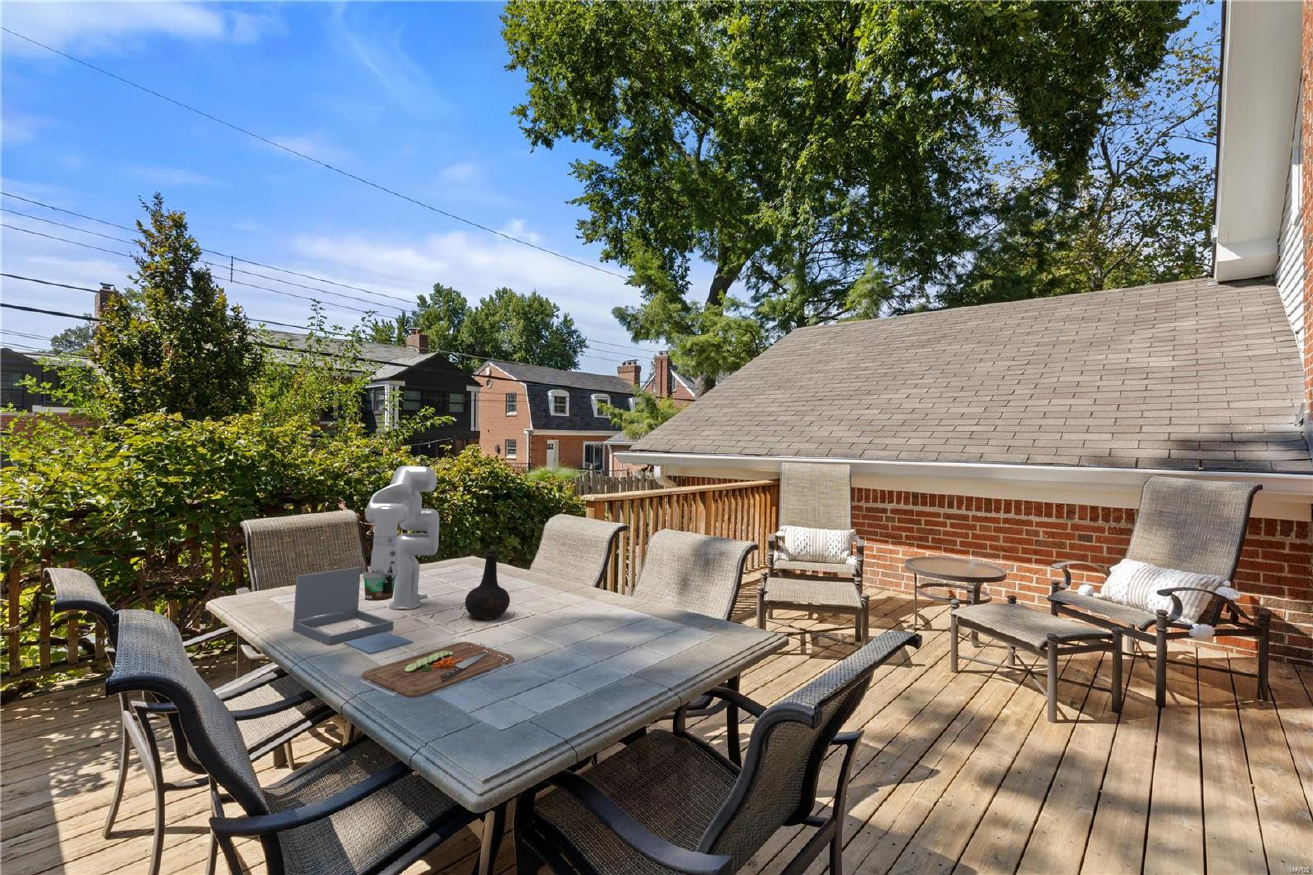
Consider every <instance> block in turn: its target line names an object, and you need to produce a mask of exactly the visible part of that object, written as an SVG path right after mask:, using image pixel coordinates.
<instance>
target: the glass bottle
mask: <svg viewBox="0 0 1313 875" xmlns="http://www.w3.org/2000/svg"><path fill="white" fill-rule="evenodd" d="M484 555H485V556H486V557H485V564H484V570H483V575H482V579H481V581H480V583H479V585H478V586H477V587H475V588H472V589H471V590H470V591H469V592H468V594H467V595H466V597H465V601H464V605H465V609H466V611H467V613H468V614H469V615H470V616H472V617H473V618H476V619H479V618H495V619H497V618H496V617H498V618H500V617H501V616H502V615H503V614H504V613H505V612H506V611H507V610H508V608H509V607H510V603H511V599H510V595H509V592H508V591H507V590H506V589H505V588H503V587H501V586H500V585H499V584H498V575H497V573H498V570H497V569H498V568H497V566H498V564H497V556H500V553H498V550H497V549H494V548H492V549H486V552H485V553H484Z"/></svg>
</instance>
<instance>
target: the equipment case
mask: <svg viewBox="0 0 1313 875" xmlns="http://www.w3.org/2000/svg"><path fill="white" fill-rule="evenodd" d="M361 568H362V567H361V566H356V567H350V568H344V569H343V568H342V569H335V570H329V571H320V572H314V573H313V572H312V573H307V574H301V575H296V578H295V591H294V592H295V593H294V607H293V621H292V622H293V624H292V631H293V630H294V631H293V632H296V633H298V632H299V633H298V634H300V633H301V635H303V636H306V637H307V638H310V639H313V640H315V641H318V642H320V641H321V642H320V643H323V644H325V645H327V646H332V645H336V644H340V643H344V642H348V641H352V640H356V639H360V638H364V637H368V636H372V635H376V634H380V633H384V632H389V631H392V630H394V625H395V624H394V621H392V620H390V619H387V618H383V617H381V616H378V615H374V614H372V613H369V612H366V611H363V610H360V609H359V600H360V585H361V572H362V569H361ZM354 618H356V619H357V618H358V620H361V621H363V622H366V623H370V624H372V625H371V626H365V627H362V628H357V629H353V630H348V631H344V632H340V633H335V634H332V635H331V634H329V633H326V632H323V631H322V630H321V631H320V630H319V629H316V628H318V627H322V626H327V625H332V623H333V624H335V623H336V624H337V623H340V622H341V623H342V622H347V621H351V620H354ZM350 619H351V620H350ZM312 627H314V628H312Z"/></svg>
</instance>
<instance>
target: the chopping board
mask: <svg viewBox="0 0 1313 875" xmlns="http://www.w3.org/2000/svg"><path fill="white" fill-rule="evenodd" d="M479 644H480V645H479ZM479 644H476V643H474V642H470V641H460V642H456V643H453V644H449V645H445V646H443V647H440V648H436V649H432V650H430V651H426V652H423V653H419V654H417V655H414V656H413V655H412V656H409V657H406V658H403V659H400V660H397V661H396V660H395V661H393V662H390V663H386V664H384V665H383V664H382V665H379V666H376V667H373V668H370V669H367V670H365V671H363V672H362V674H361V675H362V676H361V678H363V679H364V680H363V679H362V680H360V683H361V684H364V686H365V685H366V686H368V687H371V688H372V689H375V690H376V691H379V692H381V693H384V694H386V695H389V697H390V696H391V697H392V698H395V697H396V696H397V694H399V695H401V696H403V697H407V698H418V697H422V696H425V695H428V694H430V693H433V692H436V691H439V690H441V689H444V688H446V687H449V686H451V685H454V684H459V683H460V682H463V681H465V680H468V679H471V678H473V677H476V676H479V675H482V674H484V673H486V672H490V671H492V670H491V669H493V668H495V669H498V668H500V667H499V666H501V665H503V664H506V665H508V664H507V663H509V662H511V661H512V660H513V659H515V658H514V656H513V653H512V652H509V651H506V652H507V654H505V653H502V652H499V651H496V650H501V649H500V648H497V647H493V646H491V647H492V648H494V649H496V650H493V649H490V648H487V647H484V646H489V647H490V645H488V644H485V643H481V642H480V643H479ZM481 645H483V646H481ZM471 646H472V647H471ZM483 650H486V651H488V652H486V651H483ZM490 652H491V653H490ZM508 653H510V654H512V655H509V654H508ZM498 655H501V656H503V657H501V656H498ZM504 657H506V658H508V660H505V659H506V658H504ZM503 660H505V661H503ZM502 661H503V662H502ZM511 663H512V662H511ZM509 664H510V663H509ZM497 667H498V668H497ZM501 667H502V666H501ZM489 670H490V671H489ZM493 670H494V669H493ZM365 680H366V681H365ZM374 684H375V685H374ZM377 685H379V686H381V687H383V688H385V689H383V688H381V687H379V686H377ZM386 689H388V690H389V691H388V690H386ZM390 691H392V692H390ZM393 692H394V693H393Z"/></svg>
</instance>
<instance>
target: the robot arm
mask: <svg viewBox="0 0 1313 875" xmlns="http://www.w3.org/2000/svg"><path fill="white" fill-rule="evenodd" d="M437 479H438V477H437V475H436V473H435V471H434V470H433V469H432V468H431V467H428V466H427V465H423V466H422V465H401V466H398V468H396V470H395V471H394V473H393V475H392V478H391V481H390V483H389V485H388V486H386V487H383V488H382V489H380V490H377V491H376V492H375V493H373V494H372V496H371V497H370V500H369V501H368V503H367V506H366V509H365V519H366V521H367V522H368V523H370V524H374V530H373V546H372V550H371V557H370V558H371V559H370V567H369V570H370V572H382V574H385V578H384V582H385V583H383V592H382V594H389V593H391V592H392V582H393V579H394V578H395V577H396V578H395V585H394V592H393V601H391V602H390V603H389V608H390V609H392V610H398V609H406V610H412V609H413V608H414V609H417V608H420V607H421V606H422V602H421V601H422V600H424V599H427V598H428V594H426V593H424V594H420V593H419V581H420V562H419V561H418V559H417V558H416V557H415V556H433V555H434V556H435V555H436V553H437V552H438V549H439V539H440V538H439V533H440V514H439V512H438V510H436V509H435V508H434V509H433V508H423V507H422V504H423V502H422V501H423V497H422V495H421V493H420V492H429V493H430V492H433V491H434V490H435V489H436V487H437V483H438V482H437V481H438V480H437ZM399 525H400V528H401V529H402V530H405V531H416V532H403V533H401V534H399V535H398V530H399V529H398V526H399ZM418 531H420V532H421V531H424V532H425V533H424V532H423V533H420V532H418ZM388 571H391V573H388ZM397 572H398V575H397ZM387 575H390V576H389V577H388V578H387ZM420 605H421V606H420ZM419 606H420V607H419ZM416 607H417V608H416Z"/></svg>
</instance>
